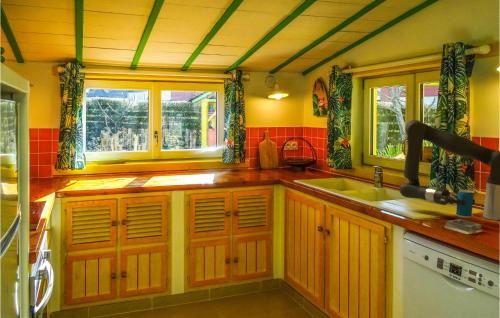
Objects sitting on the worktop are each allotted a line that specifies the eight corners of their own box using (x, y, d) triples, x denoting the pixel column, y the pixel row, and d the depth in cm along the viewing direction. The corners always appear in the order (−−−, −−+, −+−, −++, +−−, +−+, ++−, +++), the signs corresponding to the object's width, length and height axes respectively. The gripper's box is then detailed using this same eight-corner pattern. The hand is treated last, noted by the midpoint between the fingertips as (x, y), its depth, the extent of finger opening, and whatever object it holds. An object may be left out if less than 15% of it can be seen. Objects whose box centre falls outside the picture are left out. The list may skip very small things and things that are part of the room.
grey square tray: (459, 225, 198) (459, 218, 198) (482, 231, 189) (483, 224, 189) (444, 227, 193) (444, 221, 192) (467, 234, 183) (468, 227, 183)
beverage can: (460, 214, 206) (462, 189, 205) (474, 217, 201) (476, 191, 200) (453, 215, 202) (455, 190, 201) (467, 218, 197) (469, 192, 196)
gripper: (428, 189, 209) (461, 195, 195) (447, 187, 216) (479, 193, 202) (427, 204, 210) (459, 212, 196) (446, 201, 217) (478, 209, 203)
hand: (469, 202), depth 199 cm, fingers closed on beverage can, 6 cm apart
